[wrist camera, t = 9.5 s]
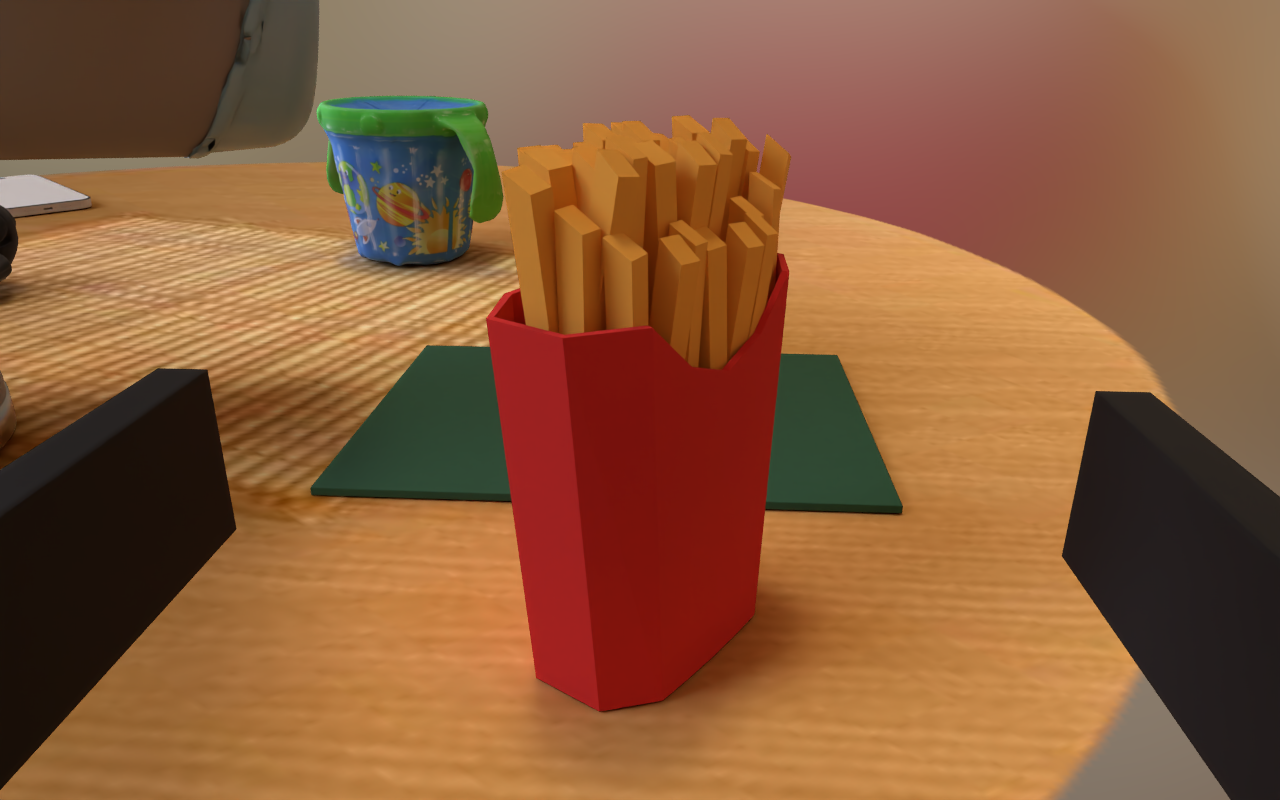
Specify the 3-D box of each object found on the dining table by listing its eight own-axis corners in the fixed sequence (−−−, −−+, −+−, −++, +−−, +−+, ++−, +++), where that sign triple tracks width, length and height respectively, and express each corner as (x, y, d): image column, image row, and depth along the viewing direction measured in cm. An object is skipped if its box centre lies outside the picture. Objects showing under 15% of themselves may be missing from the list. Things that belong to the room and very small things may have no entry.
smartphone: (-5, 209, 74) (-56, 182, 83) (-1, 224, 74) (-53, 195, 84) (94, 198, 79) (36, 173, 88) (97, 211, 79) (38, 185, 89)
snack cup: (548, 263, 62) (543, 104, 58) (411, 292, 55) (396, 115, 51) (419, 227, 72) (408, 90, 69) (291, 248, 65) (270, 97, 62)
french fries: (611, 756, 21) (605, 154, 16) (475, 679, 23) (433, 136, 18) (803, 573, 27) (842, 115, 22) (683, 529, 30) (695, 106, 25)
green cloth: (311, 495, 32) (309, 487, 32) (427, 351, 46) (426, 345, 45) (901, 513, 31) (902, 505, 31) (836, 360, 45) (837, 354, 44)
